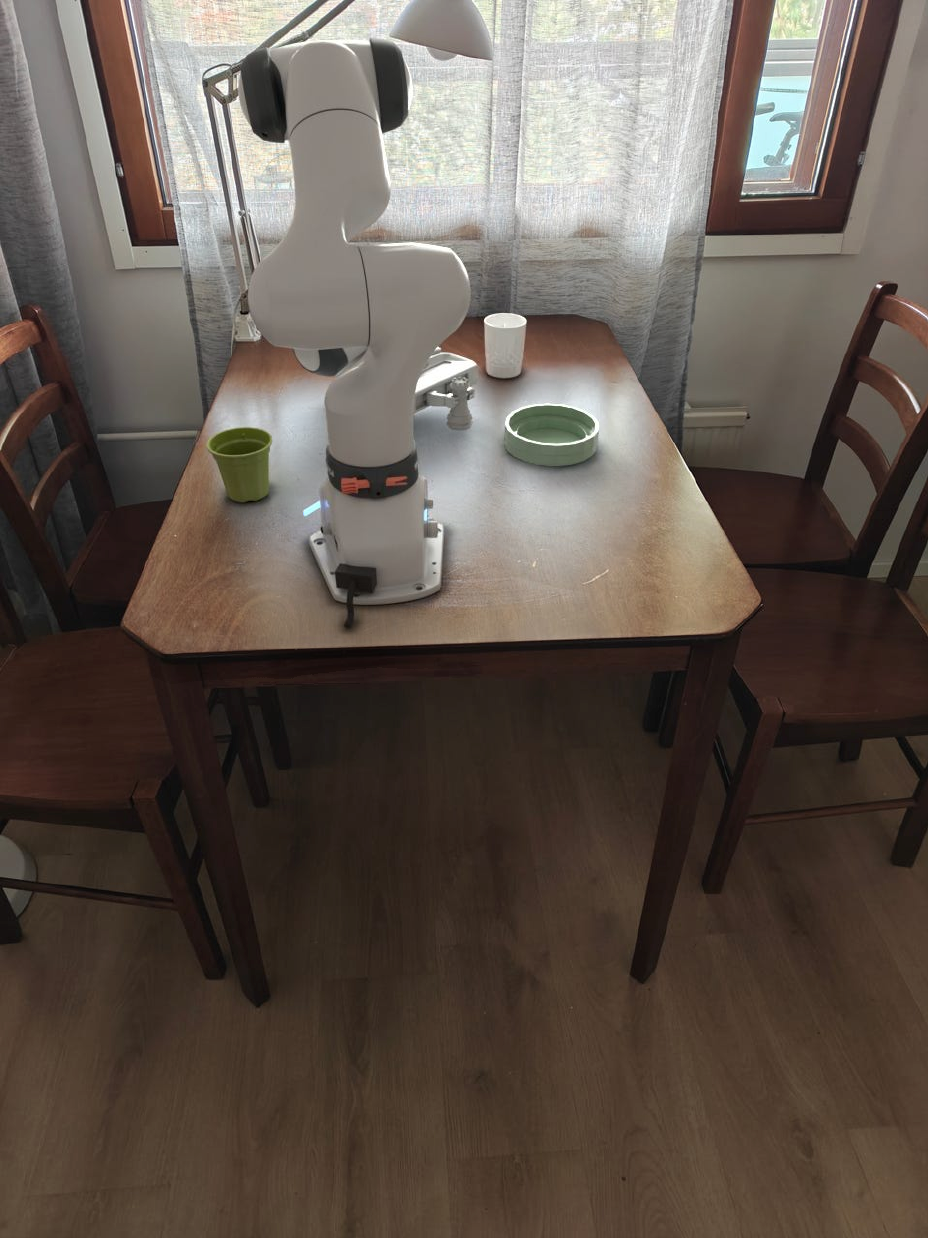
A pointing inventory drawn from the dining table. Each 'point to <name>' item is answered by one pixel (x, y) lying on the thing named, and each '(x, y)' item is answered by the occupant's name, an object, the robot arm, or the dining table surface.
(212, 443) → the plant pot
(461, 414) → the rook chess piece
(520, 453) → the bowl
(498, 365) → the white cup
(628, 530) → the dining table surface
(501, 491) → the dining table surface
